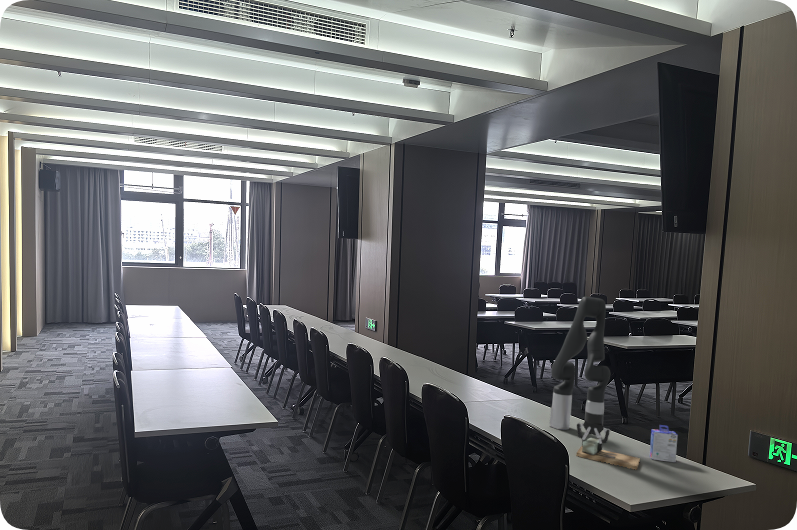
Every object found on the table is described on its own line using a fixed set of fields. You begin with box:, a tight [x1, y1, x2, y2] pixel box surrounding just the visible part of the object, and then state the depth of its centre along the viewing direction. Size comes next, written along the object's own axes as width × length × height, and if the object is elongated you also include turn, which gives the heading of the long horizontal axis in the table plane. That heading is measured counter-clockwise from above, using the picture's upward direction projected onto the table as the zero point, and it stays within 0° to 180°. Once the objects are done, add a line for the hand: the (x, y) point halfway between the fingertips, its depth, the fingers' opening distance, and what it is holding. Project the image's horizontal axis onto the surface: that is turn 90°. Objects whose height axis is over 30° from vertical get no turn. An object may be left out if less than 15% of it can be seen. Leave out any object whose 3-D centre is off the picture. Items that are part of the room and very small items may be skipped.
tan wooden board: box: [575, 445, 641, 471], centre depth 236 cm, size 24×12×2 cm, turn 60°
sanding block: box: [582, 437, 599, 455], centre depth 239 cm, size 5×9×4 cm, turn 140°
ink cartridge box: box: [649, 424, 679, 463], centre depth 241 cm, size 10×6×14 cm, turn 78°
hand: (591, 449), depth 239 cm, fingers closed on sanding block, 5 cm apart
